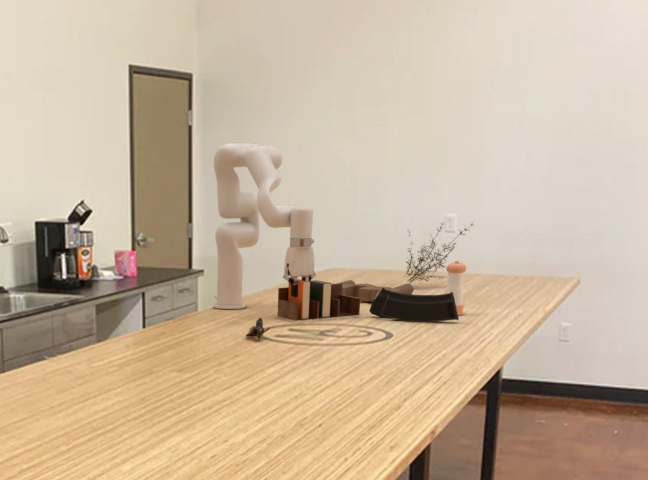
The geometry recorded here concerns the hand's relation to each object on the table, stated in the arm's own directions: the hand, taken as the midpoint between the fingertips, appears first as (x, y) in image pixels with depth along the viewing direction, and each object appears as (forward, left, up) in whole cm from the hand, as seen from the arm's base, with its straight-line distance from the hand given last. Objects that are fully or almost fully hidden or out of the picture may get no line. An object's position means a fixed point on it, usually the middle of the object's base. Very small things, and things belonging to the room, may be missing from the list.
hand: (298, 295), depth 377 cm
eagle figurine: (+28, -34, -9) cm, 45 cm away
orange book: (0, 0, -8) cm, 8 cm away
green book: (0, +9, -8) cm, 12 cm away
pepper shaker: (+16, +57, -9) cm, 60 cm away
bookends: (-35, +56, -9) cm, 66 cm away
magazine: (+22, +34, -9) cm, 41 cm away
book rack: (0, +9, -8) cm, 12 cm away
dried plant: (-55, +104, -9) cm, 118 cm away
